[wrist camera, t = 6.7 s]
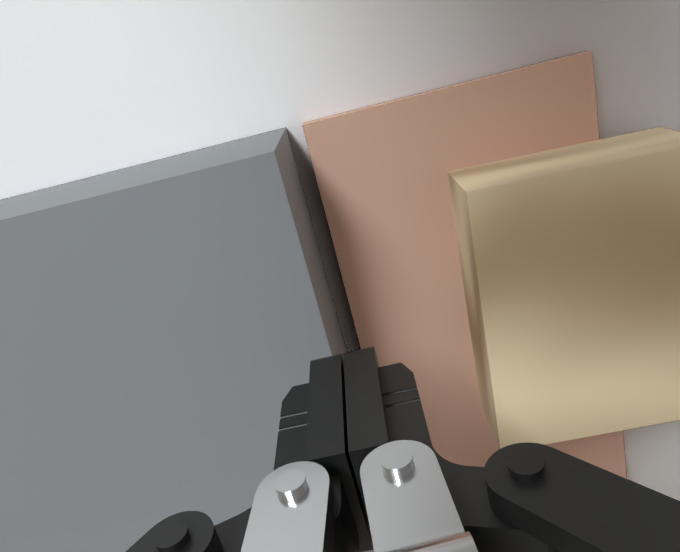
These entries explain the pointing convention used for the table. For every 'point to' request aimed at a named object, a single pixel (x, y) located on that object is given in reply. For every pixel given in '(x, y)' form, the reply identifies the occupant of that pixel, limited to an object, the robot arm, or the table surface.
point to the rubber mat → (440, 228)
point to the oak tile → (574, 286)
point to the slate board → (153, 342)
